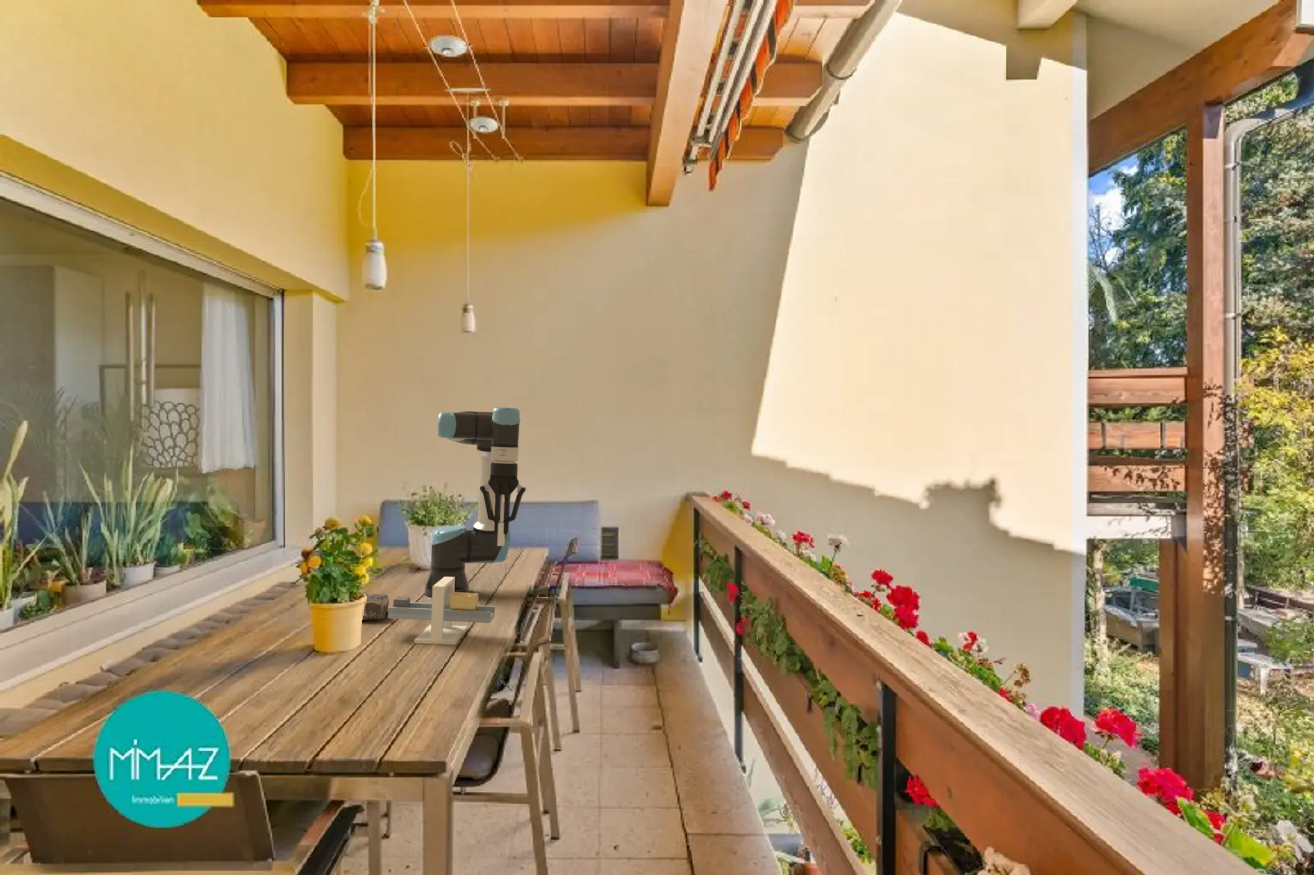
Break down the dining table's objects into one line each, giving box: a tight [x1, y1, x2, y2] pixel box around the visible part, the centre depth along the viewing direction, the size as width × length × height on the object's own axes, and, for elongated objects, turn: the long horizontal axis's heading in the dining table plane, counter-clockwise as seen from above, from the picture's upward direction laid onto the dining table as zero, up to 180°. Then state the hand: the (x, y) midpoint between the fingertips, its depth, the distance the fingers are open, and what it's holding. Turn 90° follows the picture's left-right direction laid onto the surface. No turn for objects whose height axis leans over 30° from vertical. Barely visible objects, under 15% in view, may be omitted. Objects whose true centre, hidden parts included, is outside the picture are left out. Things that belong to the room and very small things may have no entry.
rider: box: [450, 592, 480, 611], centre depth 194 cm, size 4×7×6 cm, turn 92°
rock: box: [363, 592, 390, 621], centre depth 210 cm, size 13×6×15 cm
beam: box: [387, 586, 496, 624], centre depth 194 cm, size 8×28×8 cm, turn 92°
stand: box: [414, 577, 468, 645], centre depth 194 cm, size 14×11×16 cm
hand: (500, 545), depth 194 cm, fingers closed
